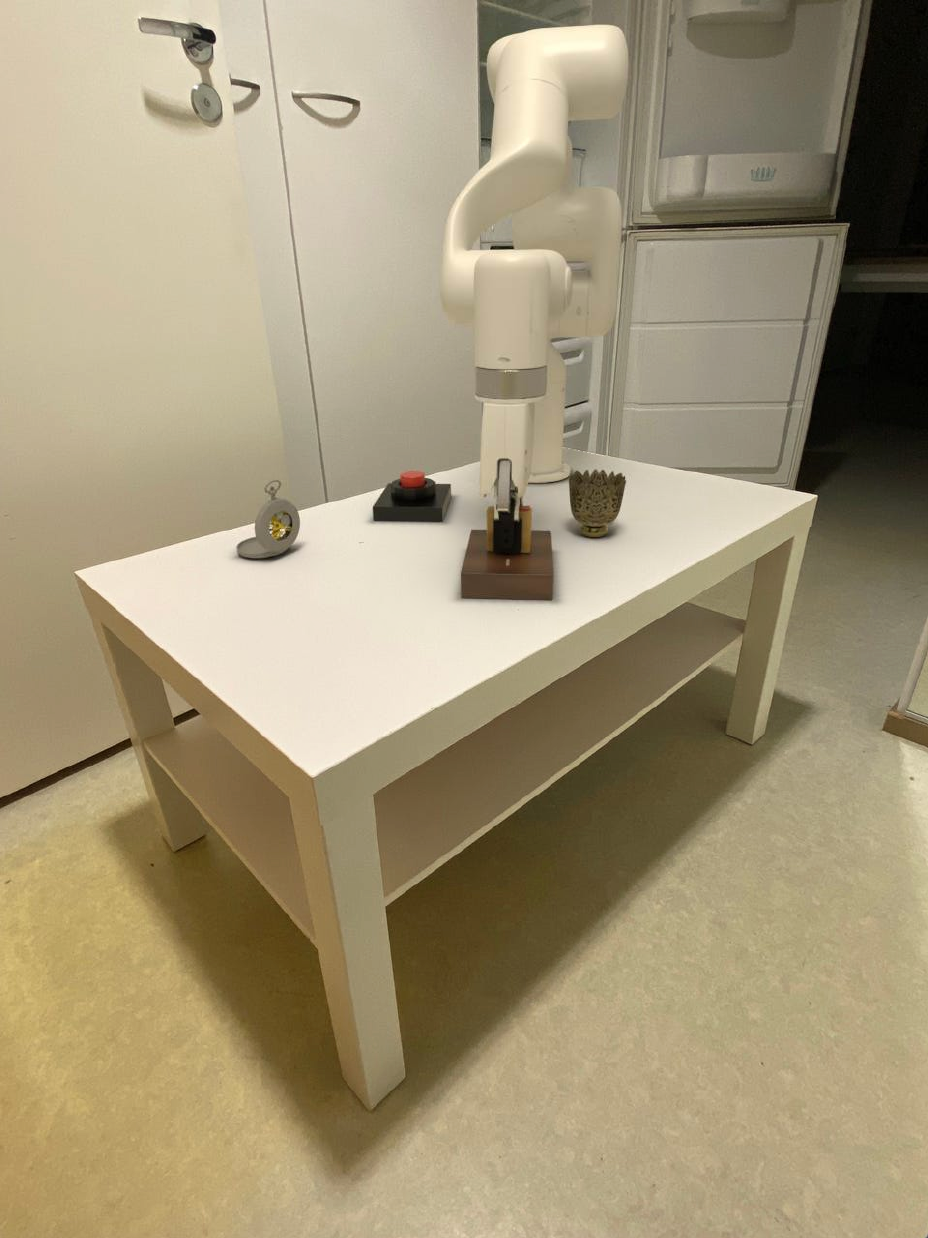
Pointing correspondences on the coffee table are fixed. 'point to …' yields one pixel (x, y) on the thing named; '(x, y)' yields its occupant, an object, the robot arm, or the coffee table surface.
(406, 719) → the coffee table surface
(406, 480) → the bell button
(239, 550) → the pocket watch
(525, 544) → the lock turn
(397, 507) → the black button mount
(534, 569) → the plate
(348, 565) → the coffee table surface
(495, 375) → the robot arm
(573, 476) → the cup
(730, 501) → the coffee table surface
